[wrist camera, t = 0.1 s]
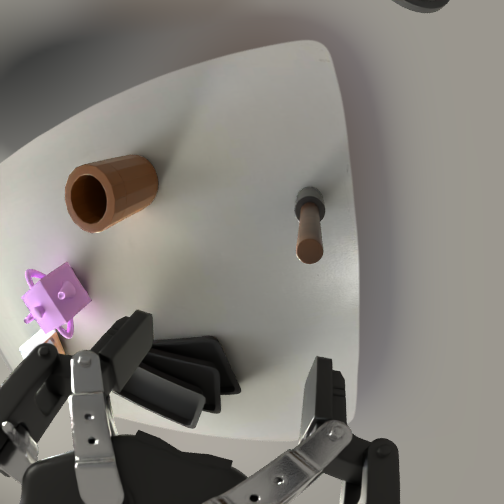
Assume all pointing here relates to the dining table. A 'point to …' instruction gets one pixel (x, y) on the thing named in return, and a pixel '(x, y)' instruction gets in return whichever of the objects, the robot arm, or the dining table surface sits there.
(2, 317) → the dining table surface
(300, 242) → the brush
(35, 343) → the small box
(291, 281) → the dining table surface
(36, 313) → the teapot
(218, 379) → the tray
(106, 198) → the brown cylindrical holder
